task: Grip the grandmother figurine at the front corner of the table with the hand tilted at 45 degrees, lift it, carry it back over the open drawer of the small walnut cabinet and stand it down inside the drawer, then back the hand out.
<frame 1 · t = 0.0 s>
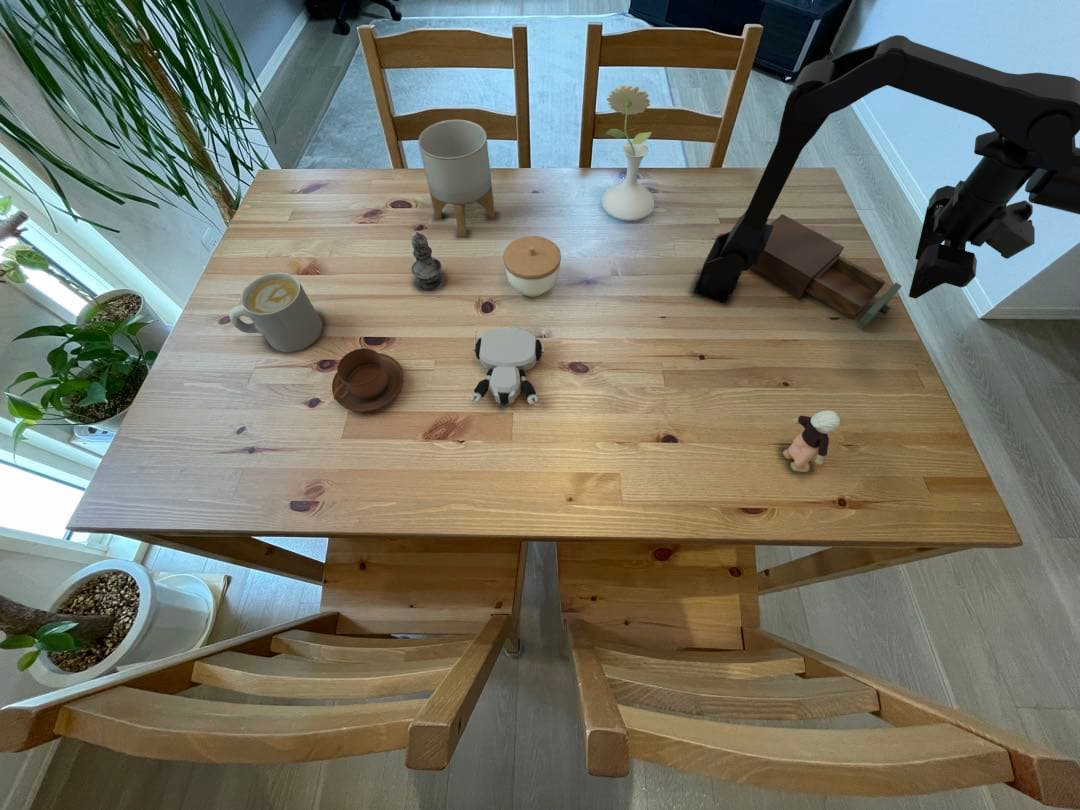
hand: (915, 277, 80), 15 cm above the table, tool pointing down, fingers open, 9 cm apart
grandmother figurine: (793, 457, 80), on the table
coffee mug: (286, 332, 96), on the table
flower in vase: (623, 208, 113), on the table
trinket box: (533, 286, 101), on the table
stone statuette: (430, 281, 102), on the table
cup and saucer: (371, 387, 89), on the table
robot toy: (508, 374, 90), on the table
planter: (465, 217, 112), on the table
drawer: (853, 291, 95), point 3 cm above the table, slide at 11.0 cm
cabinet: (784, 266, 103), on the table
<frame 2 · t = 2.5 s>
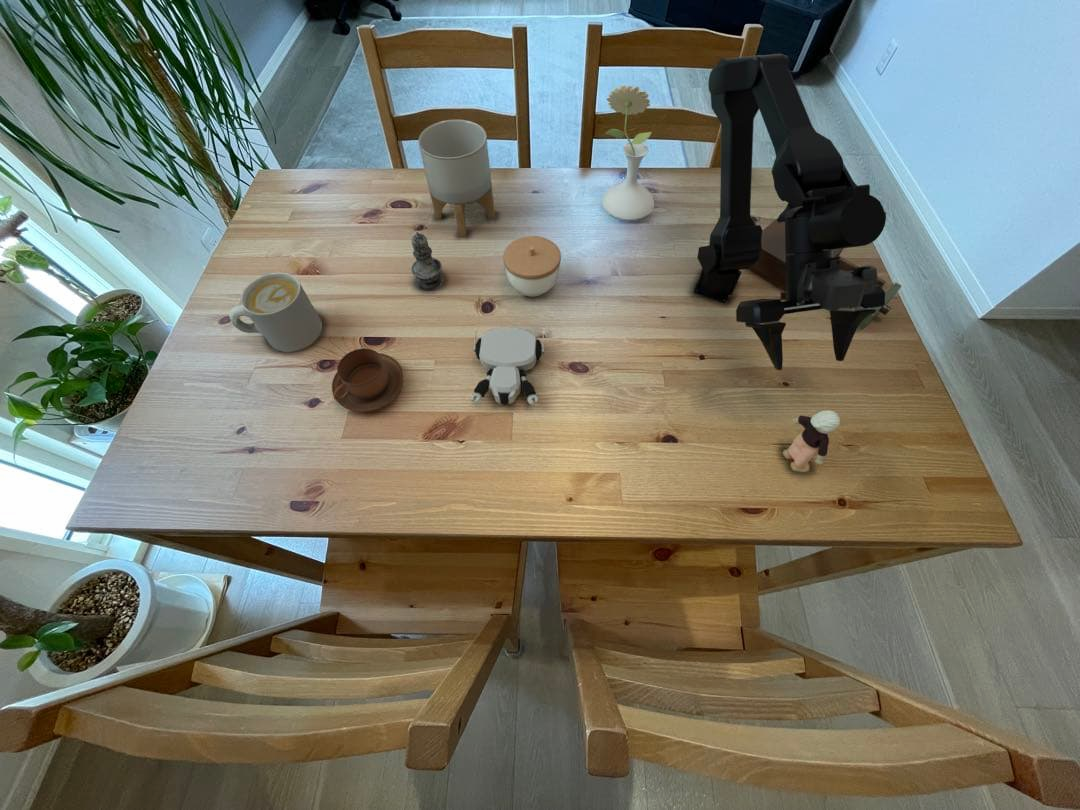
hand: (809, 365, 73), 13 cm above the table, tool tilted 45°, fingers open, 9 cm apart
nothing on the table moved.
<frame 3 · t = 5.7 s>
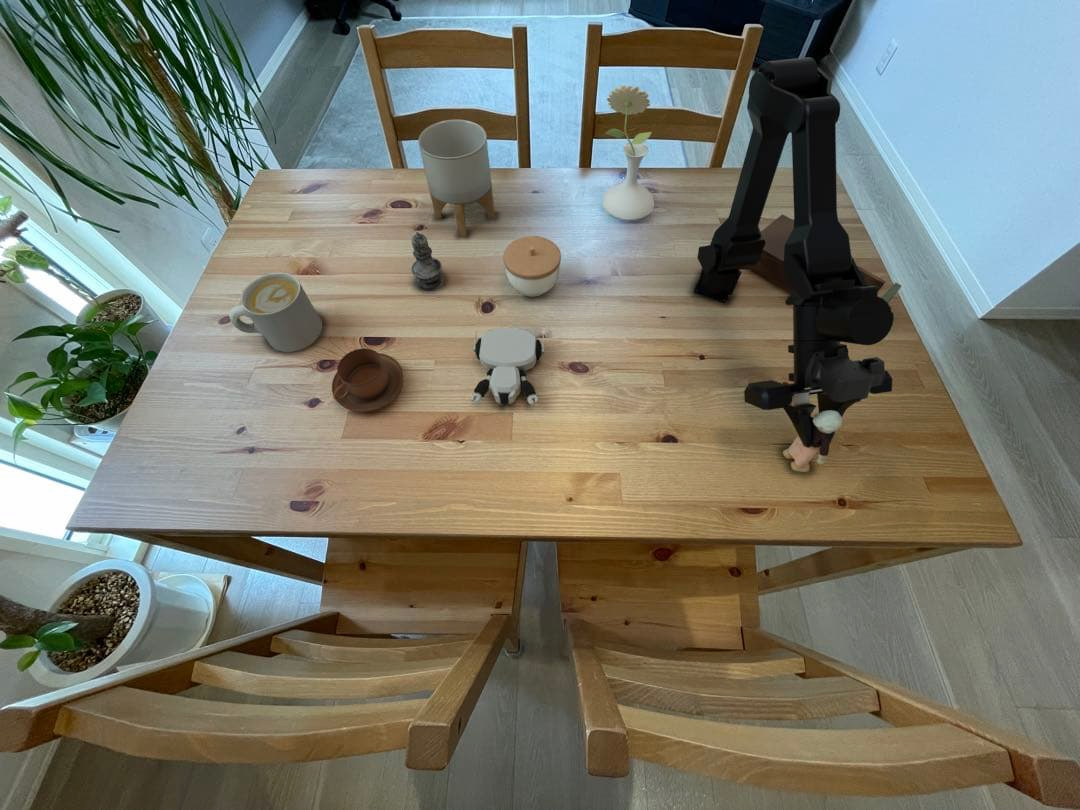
hand: (816, 445, 74), 7 cm above the table, tool tilted 45°, fingers closed on grandmother figurine, 3 cm apart
grandmother figurine: (793, 457, 80), on the table, touching gripper
everything else where it was.
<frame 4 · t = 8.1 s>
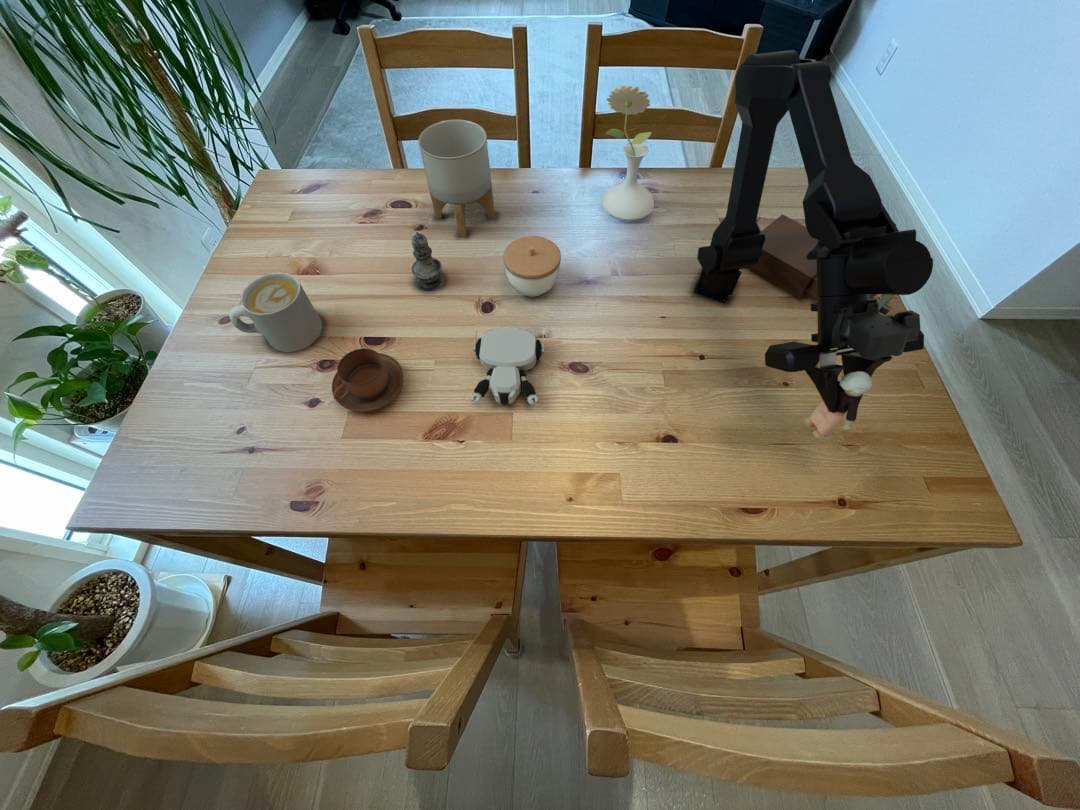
hand: (842, 410, 69), 13 cm above the table, tool tilted 45°, fingers closed on grandmother figurine, 3 cm apart
grandmother figurine: (815, 425, 75), point 7 cm above the table, touching gripper
everything else where it was.
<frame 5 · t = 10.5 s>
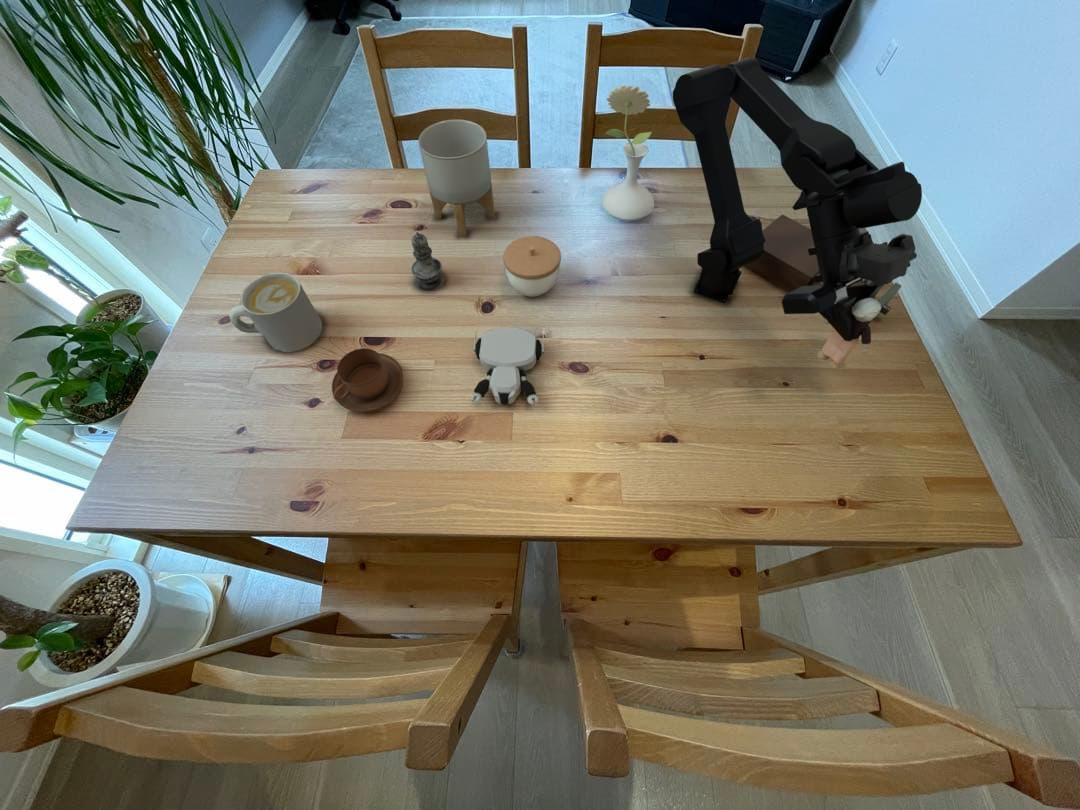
hand: (856, 336, 76), 13 cm above the table, tool tilted 45°, fingers closed on grandmother figurine, 3 cm apart
grandmother figurine: (827, 357, 82), point 7 cm above the table, touching gripper
everything else where it was.
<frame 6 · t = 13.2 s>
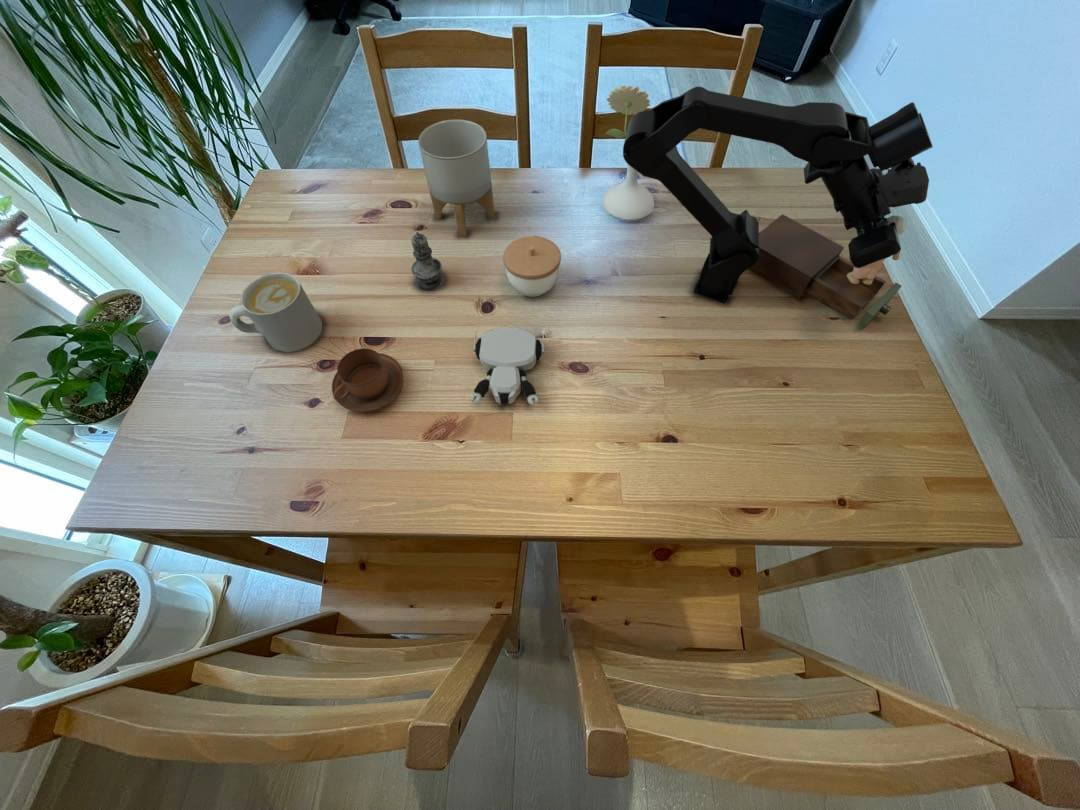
hand: (886, 251, 85), 13 cm above the table, tool tilted 45°, fingers closed on grandmother figurine, 3 cm apart
grandmother figurine: (856, 279, 91), point 7 cm above the table, touching gripper
everything else where it was.
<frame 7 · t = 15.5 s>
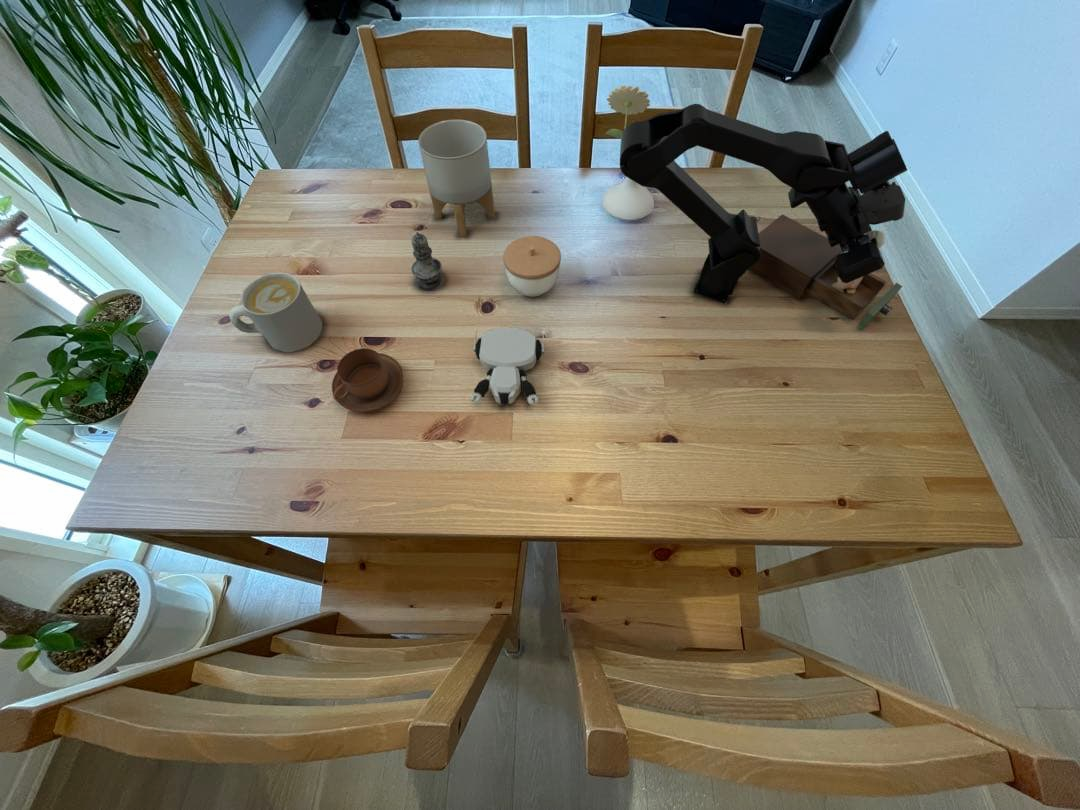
hand: (867, 262, 91), 9 cm above the table, tool tilted 45°, fingers closed on grandmother figurine, 3 cm apart
grandmother figurine: (840, 289, 96), point 2 cm above the table, touching drawer, gripper
drawer: (853, 291, 95), point 3 cm above the table, slide at 11.1 cm, touching grandmother figurine
everything else where it was.
when the fingers open (9 cm above the table, at t = 15.5 s): grandmother figurine stays where it is, resting on drawer.
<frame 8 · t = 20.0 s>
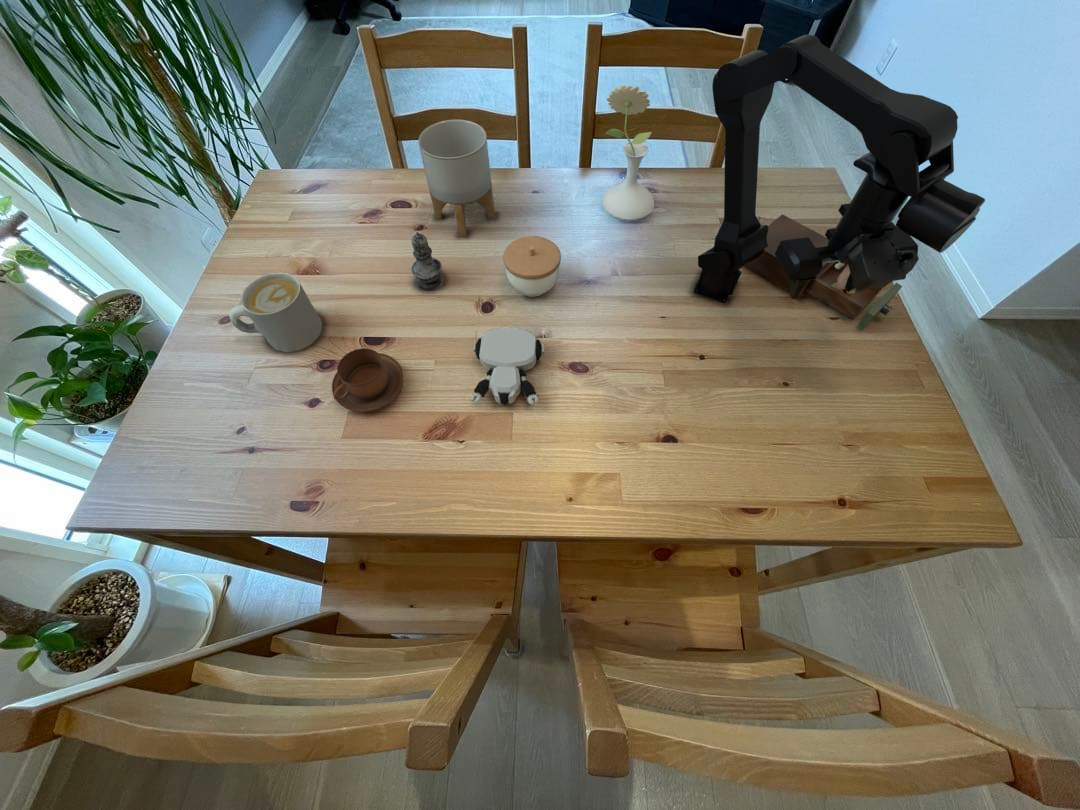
hand: (819, 293, 81), 13 cm above the table, tool pointing down, fingers open, 9 cm apart
grandmother figurine: (840, 289, 96), point 2 cm above the table, touching drawer
everything else where it was.
at the end: grandmother figurine inside the target area in the drawer (0.5 cm from its centre), point 1.8 cm above the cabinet's base; the gripper is holding nothing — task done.
